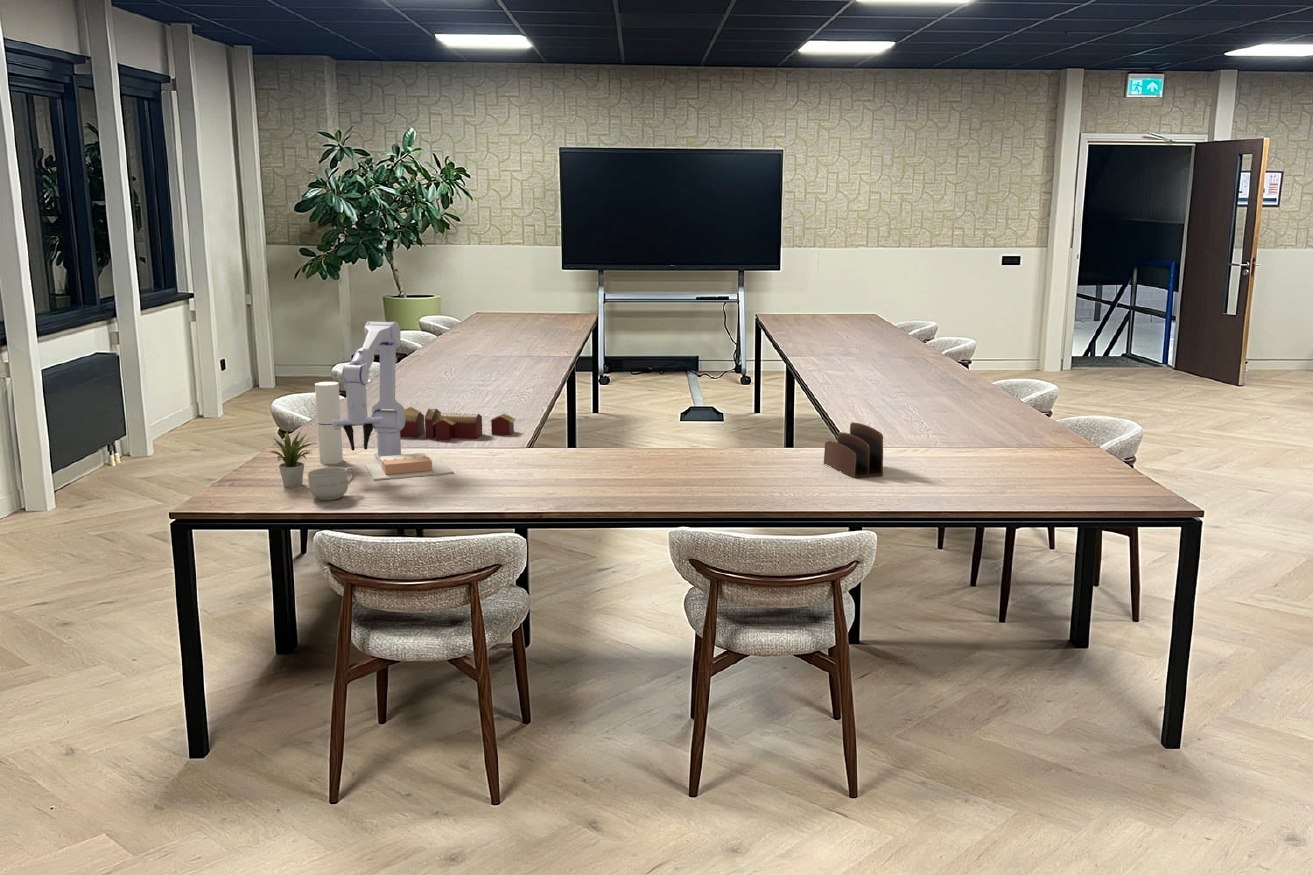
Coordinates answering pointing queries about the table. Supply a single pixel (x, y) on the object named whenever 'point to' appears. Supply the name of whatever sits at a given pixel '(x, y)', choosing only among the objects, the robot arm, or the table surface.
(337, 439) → the cylindrical container
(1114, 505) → the table surface
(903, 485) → the table surface
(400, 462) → the stub
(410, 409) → the toy houses
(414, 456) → the ticket book
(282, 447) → the house plant
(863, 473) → the letter holder
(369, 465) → the mat
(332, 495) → the teacup
